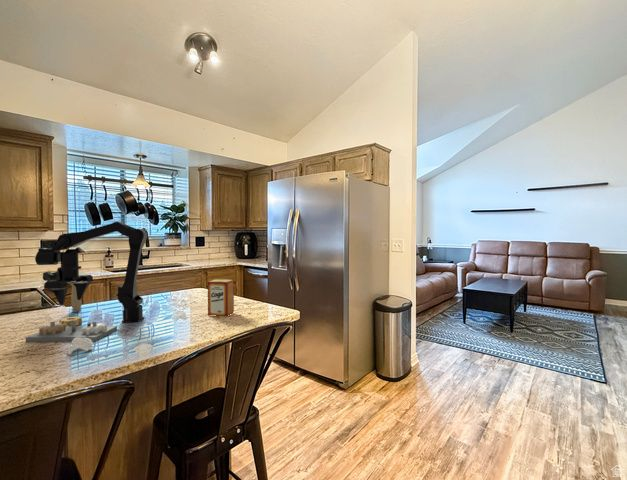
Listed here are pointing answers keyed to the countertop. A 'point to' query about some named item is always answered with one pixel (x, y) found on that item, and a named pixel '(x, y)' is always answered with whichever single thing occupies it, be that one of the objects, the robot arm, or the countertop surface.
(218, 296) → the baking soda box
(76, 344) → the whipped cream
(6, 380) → the countertop surface
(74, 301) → the handle
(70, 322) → the brass gear
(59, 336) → the gear board
